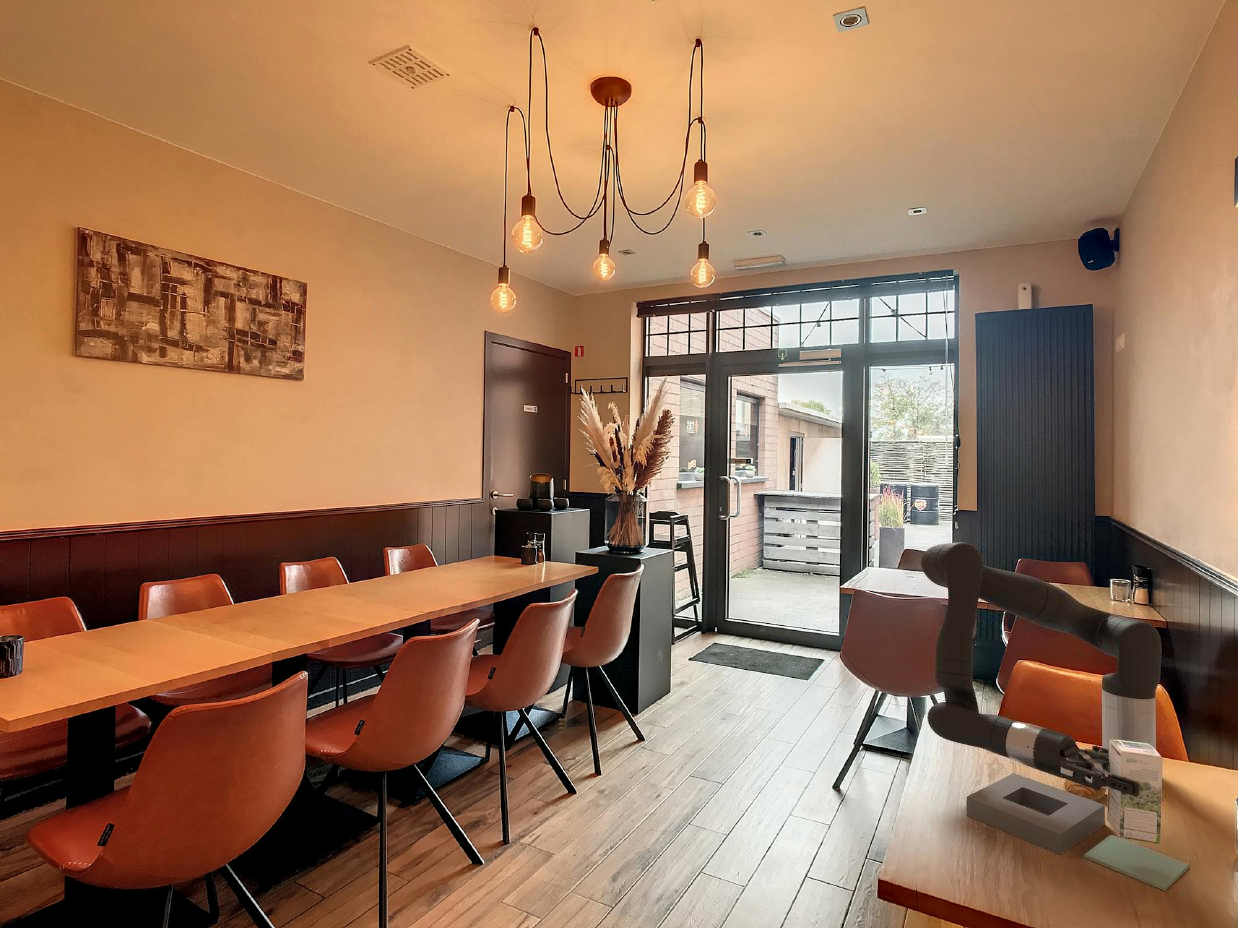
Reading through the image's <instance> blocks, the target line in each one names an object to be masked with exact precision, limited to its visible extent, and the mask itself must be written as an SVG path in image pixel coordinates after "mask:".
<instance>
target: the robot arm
mask: <svg viewBox="0 0 1238 928" xmlns="http://www.w3.org/2000/svg"><path fill="white" fill-rule="evenodd" d="M920 559H921V560H920V565H921V569H922V572H923V573H924V575H925V577H927V579H929V581H930V582H932V583H933V584H935V585H937V586H939V587H943V588H946V589H947V604H946V605H947V606H946V611H945V616H944V619H943V621H942V624H941V626H940V629H939V631H938V633H937V634H938V635H937V638H936V641H935V648H934V680H935V683H936V685H937V686H939V687H940V688H942V690H943V695H944V701H941V702H937V703H935V704H933V705H932V706H931V707H930V709H929V710H928V712H927V716H926V718H927V722H928V723H927V724H928V725H929V727H930V729H931V730H932V732H933V733H934V734H936V735H937V736H938V737H941V738H942V739H945V740H946V741H950V742H954V743H957V744H960V745H965V746H970V747H975V748H978V749H983V750H986V751H989V752H991V753H993V754H996V755H999V756H1001V757H1005V758H1007V759H1010V760H1013V761H1015V762H1017V763H1019V764H1021V765H1024V766H1026V767H1028V768H1031V769H1034V770H1037V771H1040V772H1043V773H1045V774H1048V775H1051V776H1054V777H1058V778H1061V779H1063V780H1064V779H1065V780H1066V779H1067V780H1070V781H1073V782H1076V783H1078V784H1081V785H1084V786H1087V787H1090V788H1092V789H1095V790H1101V787H1102V788H1105V789H1107V790H1108V789H1110V787H1111V788H1112V789H1115V790H1117V791H1120V792H1123V793H1126V794H1129V795H1132V796H1138V795H1139V794H1140V785H1139V783H1138V782H1136V781H1133V780H1130V779H1127V778H1124V777H1121V776H1118V775H1115V774H1112V775H1111V776H1110V773H1109V772H1108V771H1109V739H1115V740H1124V741H1131V742H1139V743H1147V744H1149V745H1151V746H1152V747H1153V748H1154V749H1155V750H1156V751H1157V735H1156V733H1157V732H1156V731H1157V729H1156V725H1157V724H1156V721H1157V720H1156V717H1157V716H1156V691H1157V688H1158V686H1159V684H1160V682H1161V667H1162V654H1163V653H1162V648H1163V647H1162V639H1161V635H1160V633H1159V630H1157V628H1156V627H1155V626H1154V625H1153V624H1151V623H1149V622H1147V621H1143V620H1141V619H1135V618H1132V617H1128V616H1124V615H1121V614H1115V613H1110V612H1107V611H1104V610H1100V609H1097V608H1094V607H1091V606H1088V605H1085V604H1083V603H1081V602H1080V601H1078V600H1077V599H1076V598H1074V597H1073V596H1072V595H1071V594H1070V593H1068V592H1067V591H1066V590H1064V589H1062V588H1060V587H1057V586H1055V585H1054V584H1051V583H1049V582H1047V581H1044V580H1041V579H1040V578H1037V577H1033V576H1031V575H1026V574H1024V573H1023V574H1022V573H1018V572H1014V571H1009V570H1004V569H999V568H994V567H990V566H987V565H984V561H983V557H982V555H981V553H980V550H978V549H977V547H975V546H974V545H972V544H970V543H968V542H960V541H958V542H949V543H939V544H936V545H934V546H931V547H930V548H928V549H926V550H925V552H923V554H922V556H921V558H920ZM979 600H982V601H984V602H986V603H988V604H990V605H992V606H994V607H996V608H998V609H1000V610H1003V611H1005V612H1007V613H1010V614H1012V615H1014V616H1016V617H1018V618H1020V619H1023V620H1025V621H1027V622H1030V623H1032V624H1034V625H1038V626H1040V627H1043V628H1045V629H1049V630H1051V631H1055V632H1060V633H1065V634H1067V635H1070V636H1073V637H1075V638H1077V639H1078V640H1080V641H1082V642H1084V643H1086V644H1088V645H1089V646H1091V647H1093V648H1095V649H1096V650H1099V651H1101V652H1102V653H1104V654H1105V655H1108V656H1110V657H1113V658H1116V659H1117V668H1116V671H1115V673H1114V672H1111V673H1106V674H1104V675H1103V676H1102V678H1101V713H1102V714H1101V716H1102V717H1101V721H1102V723H1101V727H1102V728H1101V729H1102V730H1101V733H1102V734H1101V735H1102V736H1101V737H1102V738H1101V740H1102V741H1101V742H1102V745H1101V746H1102V747H1100V746H1098V745H1092V747H1091V748H1090V749H1089V748H1085V749H1084V748H1080V747H1079V746H1078V745H1077V742H1076V740H1075V739H1074V737H1073V736H1071V735H1070V734H1065V733H1063V732H1058V731H1056V730H1052V729H1048V728H1046V727H1043V726H1039V725H1036V724H1032V723H1029V722H1022V721H1018V720H1014V719H1011V718H1007V717H1004V716H1001V715H997V714H989V713H988V714H986V713H981V712H980V709H979V706H978V705H979V704H978V701H977V695H976V692H975V689H974V688H975V687H974V685H973V677H974V676H973V675H974V674H973V673H974V670H973V668H974V667H973V666H974V665H973V663H974V662H973V660H974V659H973V658H974V657H973V654H974V653H973V652H974V649H973V648H974V647H973V646H974V632H975V624H976V617H977V611H978V605H979ZM1086 780H1087V781H1086Z"/></svg>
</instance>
